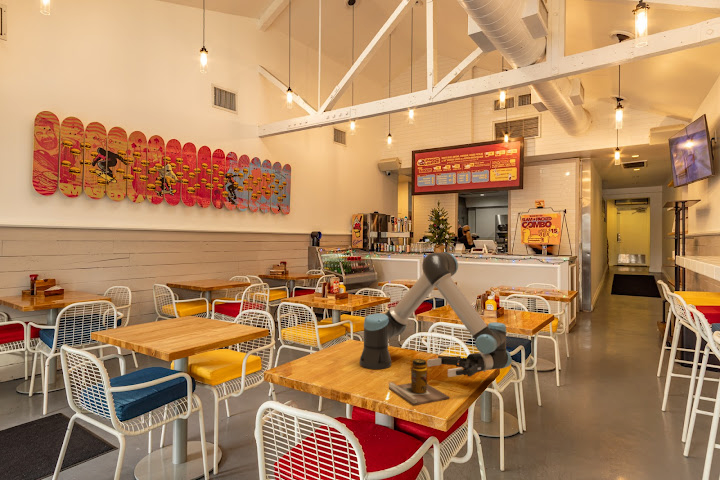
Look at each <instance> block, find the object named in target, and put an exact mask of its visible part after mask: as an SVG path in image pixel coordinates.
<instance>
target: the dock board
mask: <svg viewBox="0 0 720 480" xmlns="http://www.w3.org/2000/svg"><path fill="white" fill-rule="evenodd" d="M404 388H411V382H409V383H402V384H396V383H394V382H392V381H391V382H388V389H389V390H391V391H392V392H393V393H394V394H396V395H397V396H399V397H400V398H402V399H403V400H405V401H406V402H408V403H409V404H410V405H412V406H419V405H426V404H429V403H434V402H440V401H446V400H450V396H449V395H447V394H445V393H444V392H442V391H440V390H438V389H437V388H435V387H433V386H431V385H430V384H428V383H427V391H428V392H429V393H430V394H423V395H411V394H409V393H408V392H406V391H405V390H404Z"/></svg>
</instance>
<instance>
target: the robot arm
mask: <svg viewBox="0 0 720 480" xmlns="http://www.w3.org/2000/svg"><path fill="white" fill-rule="evenodd" d="M421 265H422V266H421V267H422V274H421V276H420V277H419V278H418V279H417V280H416V282H414V284H413V285H412V287H411V288H410V289H409V290H408V291H407V292H406V294H405V295H403V297H402V298H401V299H400V300H399V302H398V303H397V304H396V305H395V306H391V307H390V308H389V309H388V310H387V311H386V312H385V313H372V314H368V315H366V316H365V317H364V322H363V349H362V352H361V355H360V358H359V365H360V366H361V367H362V368H365V369H370V370H384V369H387V368H390V367H392V359H391V354H390V351H389V339H391V338H394V337H398V336H400V335H401V334H402V333H404V331H406V328H407V325H408V323H409V318H410V317H411V316H412V315H413V313H415V312H416V310H417V309H418V308H419V307H420V305H421V304H422V303H424V301H425V300H426V299H427V298H428V296H430V294H431V293H432V292H433V291H434V289H437V290H438V291H439V293H440V294H441V296H442V297H443V298H444V299H445V301H446V302H447V304H448V305H449V306H450V308H451V310H453V312H454V313H455V315H456V316H457V317H458V319H459V321H461V323H462V324H463V325H464V327H465V329H466V330H468V331H467V332H469V334H470V335H471V336H472V338H473V339H474V341H475V347H476V349H477V350H478V352H474V353H469V354H468V355H467V357H461V355H458V356H456V355H455V356H452V355H451V356H449V355H447V356H445V355H444V356H443V355H442V356H441V355H438V356H437V358H430V359H427V361H426V367H434V366H435V367H436V366H439V367H440V366H442V365H448V366H449V365H450V366H456V367H457V368H456V367H455V368H449V369H448V368H447V377H448V378H451V377H459V376H467V377H468V378H470V377H472V376H473V375H475V374H477V373H481V372H486V371H491V370H498V369H500V370H501V369H505V368H508V367H510V366H511V365H512V361H513V359H512V357H511V356H512V355H511V352H509V351H508V350H507V326H506V324H505V323H502V322H497V321H496V322H489V323H488V324H486V322H485V321H484V319H483V318H482V317H481V315H480V314H479V313H478V311H477V310H476V309H475V308H474V306H473V305H472V304H471V302H470V301H469V299H468V298H467V297H466V295H465V294H464V293H463V291H462V290H461V289H460V287H459V286H458V285H457V284H456V282H455V281H454V279H453V278H452V277H454V275H455V274H456V273H457V272H458V269H459V262H458V259H457V257H456V256H455V255H454V254H453V253H450V252H446V251H443V252H432V253H429V254H427V255H426V256H425V257H424V259H423V260H422V263H421Z"/></svg>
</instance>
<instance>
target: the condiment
mask: <svg viewBox="0 0 720 480" xmlns="http://www.w3.org/2000/svg"><path fill="white" fill-rule="evenodd" d="M411 365H412V366H411V373H410V376H411V378H410V380H411V381H410V383H411V388H404V390H405V391H406V392H408V393H409V394H411V395H423V394H430V393H429V392H428V391H427V384H428V368H427V361H426V360H425V359H422V358H415V359H413V360H412V364H411Z"/></svg>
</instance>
